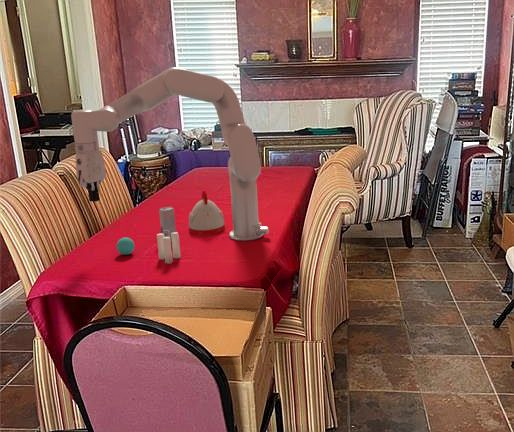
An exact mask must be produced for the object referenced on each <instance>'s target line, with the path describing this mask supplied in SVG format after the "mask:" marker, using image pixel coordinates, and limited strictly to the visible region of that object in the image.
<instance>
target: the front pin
mask: <svg viewBox="0 0 514 432" xmlns="http://www.w3.org/2000/svg"><path fill="white" fill-rule="evenodd" d="M163 238H164V234H163V233H157V234H156V240H157V242H156V243H157V250H158V251H157V252H158V258H159V260H161V261H165V260H164V259H165V256H164V246H163Z"/></svg>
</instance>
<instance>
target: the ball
mask: <svg viewBox="0 0 514 432" xmlns="http://www.w3.org/2000/svg"><path fill="white" fill-rule="evenodd" d="M116 250H117V251H118V253H119V254H120V255H123V256H125V255H126V256H128V255H130V254H132V252H133V251H134V250H135V242H134V241H133V239H131V238H130V237H126V236H125V237H122V238H120V239H118V241H117V243H116Z"/></svg>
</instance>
